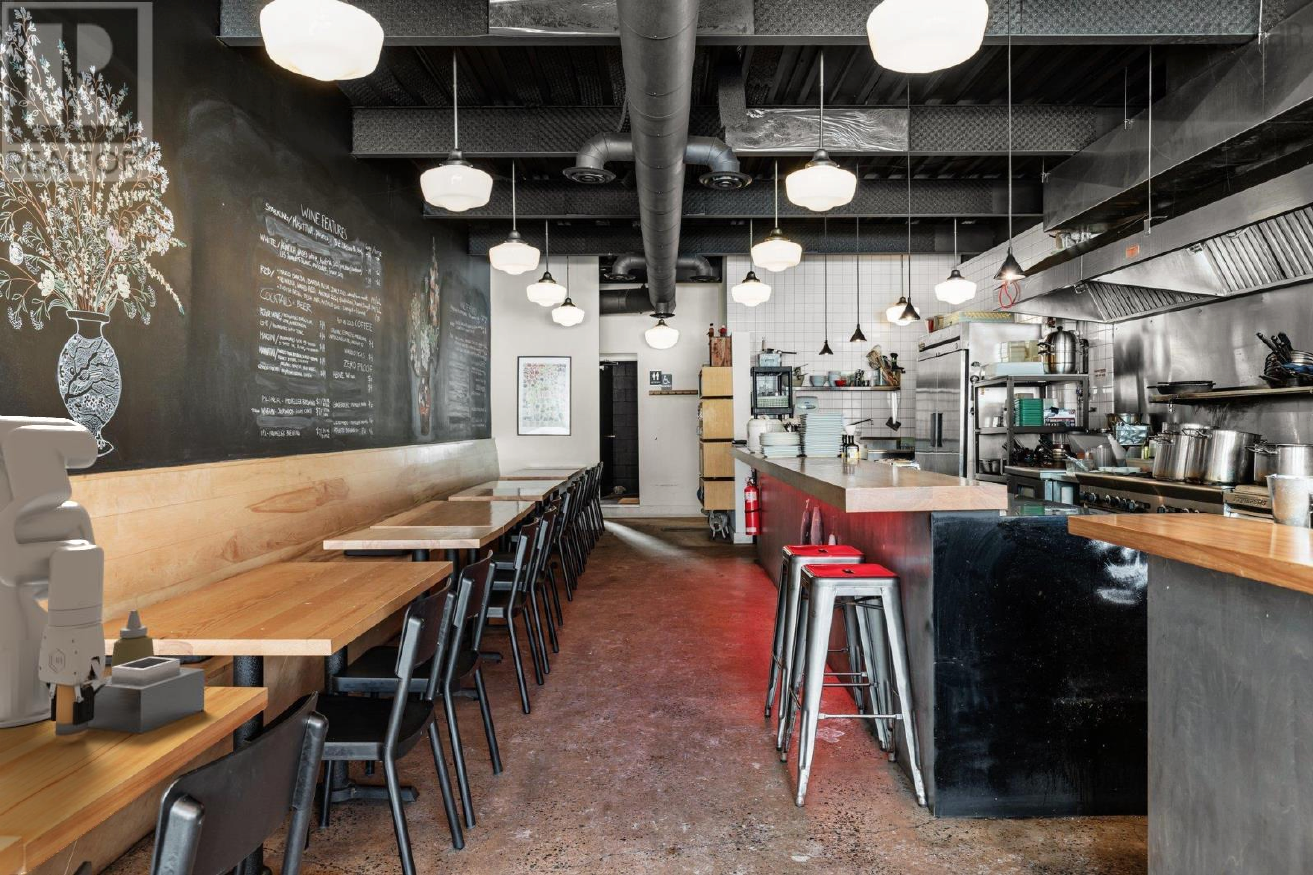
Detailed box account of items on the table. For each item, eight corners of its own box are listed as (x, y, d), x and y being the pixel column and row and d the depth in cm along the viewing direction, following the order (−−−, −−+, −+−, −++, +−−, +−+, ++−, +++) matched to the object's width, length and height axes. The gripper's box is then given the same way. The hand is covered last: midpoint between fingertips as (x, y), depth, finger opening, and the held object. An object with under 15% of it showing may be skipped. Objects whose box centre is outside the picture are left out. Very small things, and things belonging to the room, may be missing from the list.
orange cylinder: (48, 736, 124) (50, 684, 124) (76, 726, 128) (77, 676, 129) (67, 739, 123) (69, 687, 123) (94, 730, 127) (96, 679, 127)
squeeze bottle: (130, 704, 146) (132, 615, 146) (98, 702, 147) (99, 613, 148) (165, 691, 154) (166, 607, 154) (134, 689, 155) (135, 606, 156)
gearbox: (83, 726, 133) (84, 669, 134) (150, 704, 146) (151, 651, 146) (140, 734, 129) (141, 675, 130) (204, 710, 142) (204, 656, 142)
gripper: (17, 616, 125) (13, 722, 124) (88, 625, 120) (85, 734, 120) (63, 607, 132) (60, 707, 132) (132, 615, 127) (129, 718, 127)
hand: (72, 719), depth 126 cm, fingers closed on orange cylinder, 4 cm apart
